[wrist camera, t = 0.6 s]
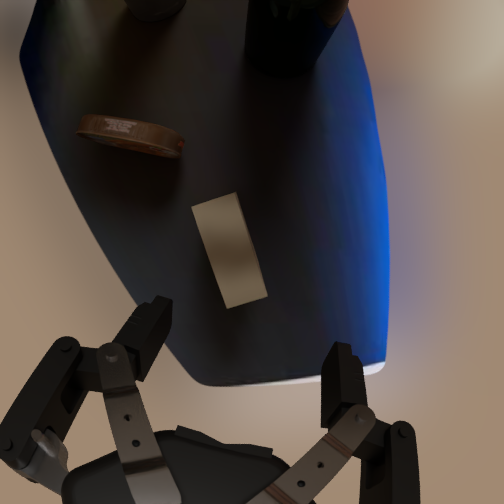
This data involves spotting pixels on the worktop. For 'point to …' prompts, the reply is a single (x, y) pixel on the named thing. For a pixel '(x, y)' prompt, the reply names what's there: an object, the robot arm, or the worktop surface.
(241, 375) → the worktop surface
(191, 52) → the worktop surface
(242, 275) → the birch slab
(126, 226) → the worktop surface
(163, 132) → the tin
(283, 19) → the dark wine bottle
